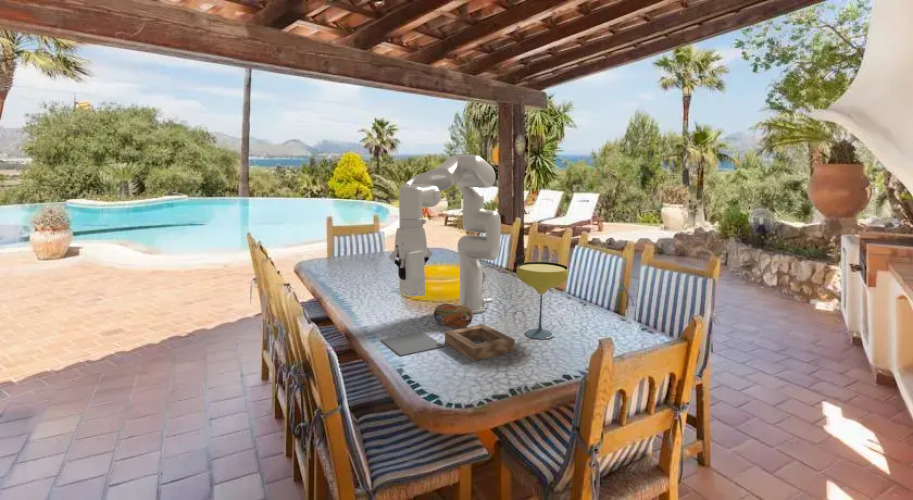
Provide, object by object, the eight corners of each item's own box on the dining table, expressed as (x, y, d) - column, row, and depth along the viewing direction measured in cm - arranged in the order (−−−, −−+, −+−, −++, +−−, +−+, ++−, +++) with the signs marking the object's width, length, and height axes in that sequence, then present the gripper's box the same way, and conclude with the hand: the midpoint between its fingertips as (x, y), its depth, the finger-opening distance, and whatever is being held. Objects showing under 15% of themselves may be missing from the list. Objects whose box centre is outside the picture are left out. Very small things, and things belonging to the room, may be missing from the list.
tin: (433, 324, 182) (433, 303, 180) (436, 322, 184) (436, 301, 183) (470, 329, 176) (471, 307, 175) (473, 326, 179) (473, 305, 178)
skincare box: (425, 295, 157) (425, 251, 154) (409, 297, 153) (409, 252, 151) (413, 289, 163) (413, 247, 161) (397, 292, 160) (397, 248, 158)
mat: (421, 332, 172) (421, 331, 172) (444, 346, 159) (444, 345, 159) (380, 340, 164) (380, 339, 164) (400, 356, 151) (400, 355, 151)
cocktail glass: (567, 329, 177) (571, 263, 173) (562, 346, 160) (565, 274, 156) (520, 323, 183) (522, 260, 179) (509, 339, 166) (511, 269, 162)
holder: (483, 334, 171) (483, 324, 170) (514, 351, 156) (514, 339, 155) (444, 342, 162) (444, 331, 162) (473, 361, 147) (474, 349, 147)
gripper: (428, 221, 162) (428, 272, 165) (381, 224, 153) (382, 278, 156) (439, 223, 156) (439, 277, 159) (391, 226, 147) (392, 283, 150)
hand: (411, 277), depth 157 cm, fingers closed on skincare box, 5 cm apart
